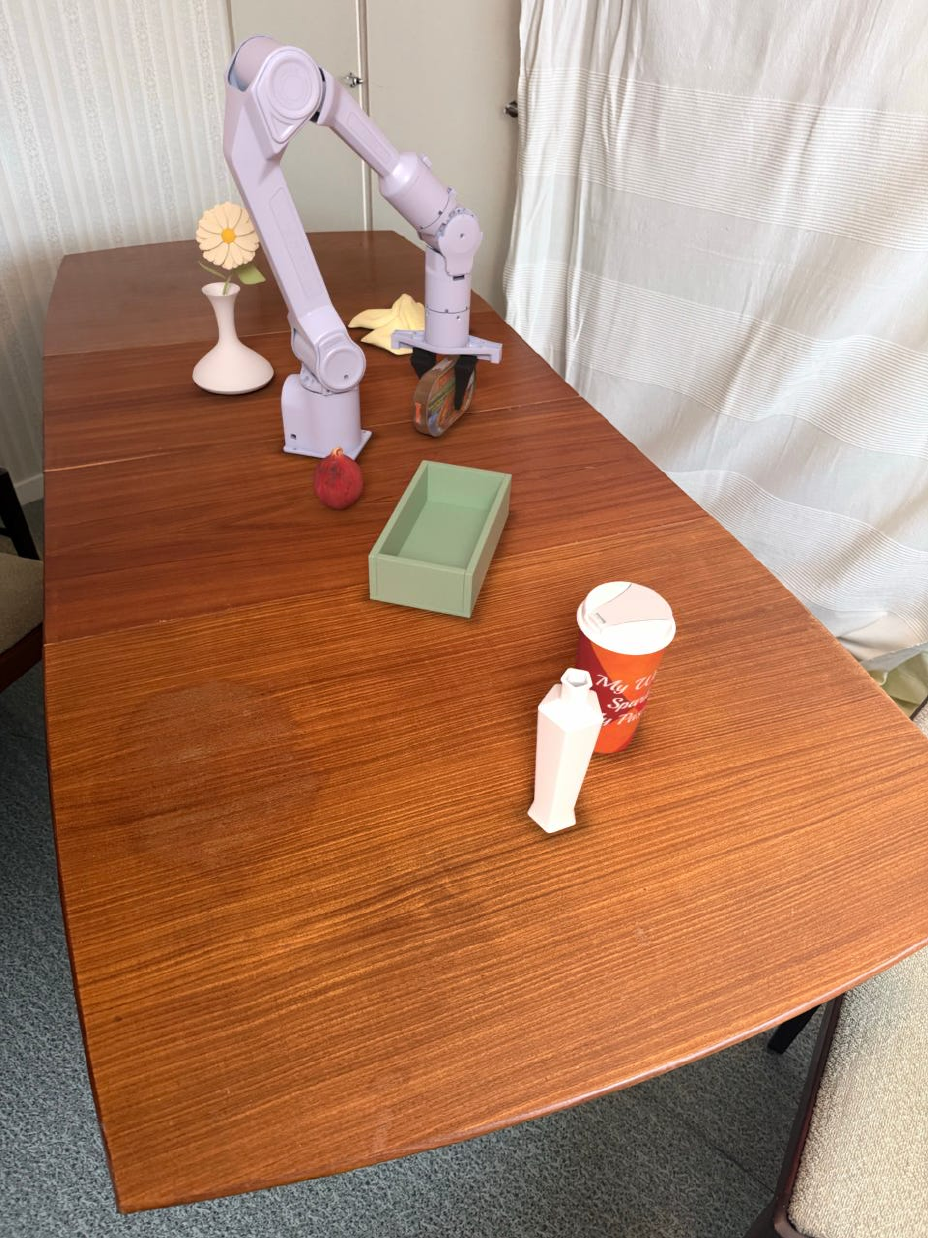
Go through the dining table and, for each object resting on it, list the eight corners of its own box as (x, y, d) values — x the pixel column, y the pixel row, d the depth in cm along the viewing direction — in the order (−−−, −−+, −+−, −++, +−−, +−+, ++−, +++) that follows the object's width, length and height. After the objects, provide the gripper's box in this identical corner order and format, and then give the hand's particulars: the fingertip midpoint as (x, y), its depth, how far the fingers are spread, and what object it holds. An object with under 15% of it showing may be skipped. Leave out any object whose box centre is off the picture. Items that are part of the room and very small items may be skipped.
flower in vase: (178, 392, 118) (140, 202, 102) (224, 362, 126) (196, 181, 110) (256, 411, 115) (231, 218, 99) (299, 379, 123) (282, 196, 107)
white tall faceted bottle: (519, 790, 68) (537, 656, 58) (571, 788, 68) (598, 654, 58) (526, 838, 64) (547, 704, 54) (582, 835, 65) (613, 702, 55)
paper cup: (589, 775, 69) (617, 653, 60) (541, 713, 74) (560, 592, 65) (664, 744, 72) (701, 623, 63) (613, 687, 77) (640, 567, 68)
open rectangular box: (369, 599, 85) (368, 556, 82) (422, 499, 100) (422, 459, 96) (469, 618, 84) (472, 575, 80) (508, 514, 98) (512, 474, 95)
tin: (428, 447, 109) (430, 387, 104) (407, 440, 110) (408, 381, 105) (476, 402, 120) (481, 346, 114) (456, 396, 121) (461, 340, 115)
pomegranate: (356, 526, 95) (353, 464, 90) (308, 518, 96) (302, 457, 91) (370, 499, 99) (368, 439, 94) (324, 492, 100) (319, 432, 95)
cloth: (485, 347, 135) (487, 309, 131) (377, 362, 129) (376, 323, 125) (433, 299, 150) (434, 264, 146) (334, 311, 144) (332, 274, 140)
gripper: (509, 301, 107) (502, 399, 115) (401, 287, 109) (402, 384, 118) (498, 321, 101) (491, 422, 110) (385, 306, 104) (387, 406, 113)
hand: (444, 404), depth 114 cm, fingers closed on tin, 3 cm apart
